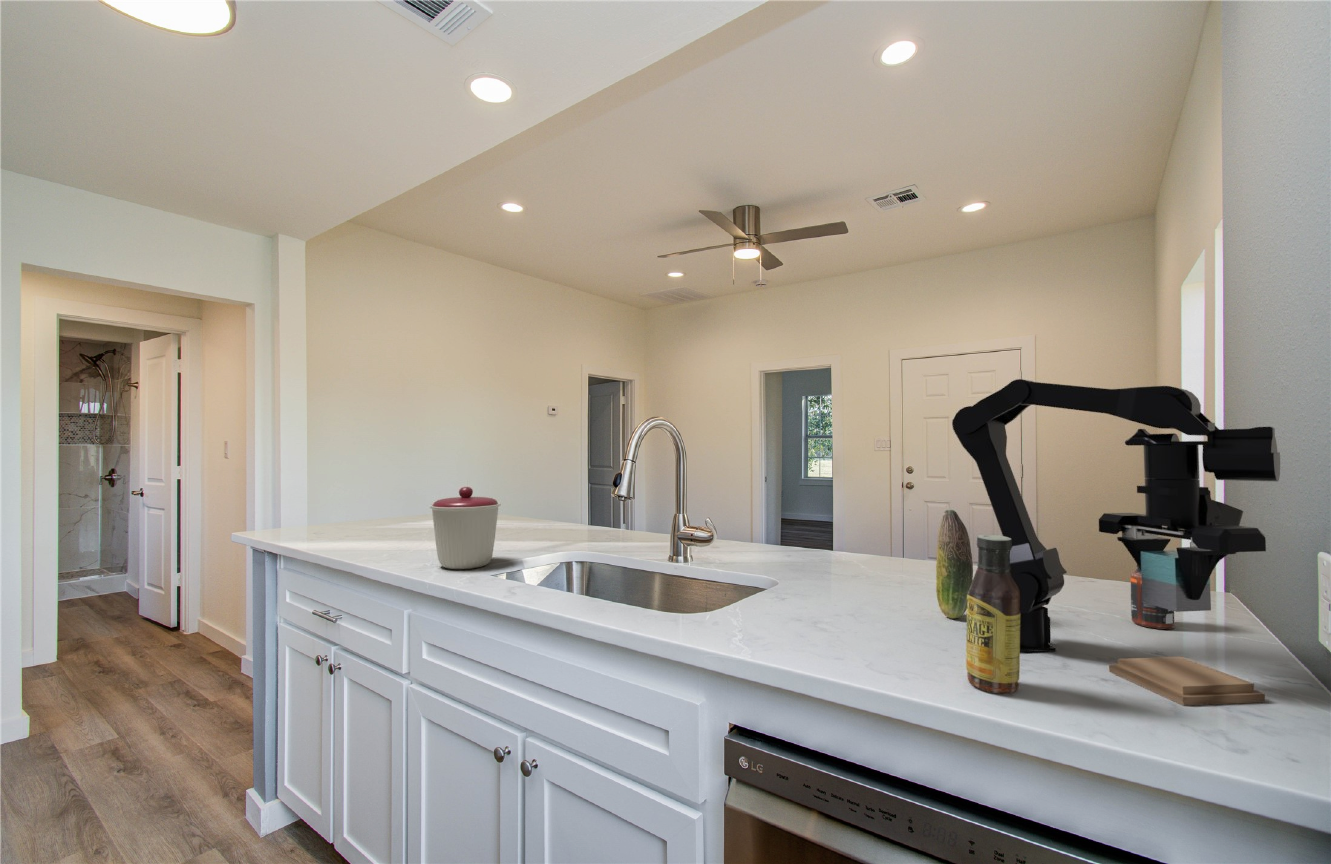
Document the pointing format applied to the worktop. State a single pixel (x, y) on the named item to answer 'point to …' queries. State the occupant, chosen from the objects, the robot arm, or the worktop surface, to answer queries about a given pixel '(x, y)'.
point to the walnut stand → (1186, 681)
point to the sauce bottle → (993, 619)
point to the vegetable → (953, 565)
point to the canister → (465, 530)
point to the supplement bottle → (1147, 607)
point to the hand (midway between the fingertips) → (1175, 594)
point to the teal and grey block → (1168, 583)
